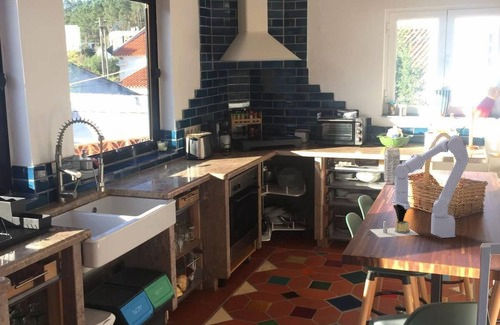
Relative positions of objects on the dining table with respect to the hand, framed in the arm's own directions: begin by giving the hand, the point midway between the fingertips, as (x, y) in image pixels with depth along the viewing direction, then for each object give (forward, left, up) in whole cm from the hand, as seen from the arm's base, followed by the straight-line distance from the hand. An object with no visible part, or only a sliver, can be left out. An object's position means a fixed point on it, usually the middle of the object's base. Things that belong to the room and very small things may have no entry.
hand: (400, 221), depth 249 cm
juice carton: (-37, -99, -5) cm, 105 cm away
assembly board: (+4, +2, -5) cm, 7 cm away
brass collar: (0, +2, -3) cm, 4 cm away
